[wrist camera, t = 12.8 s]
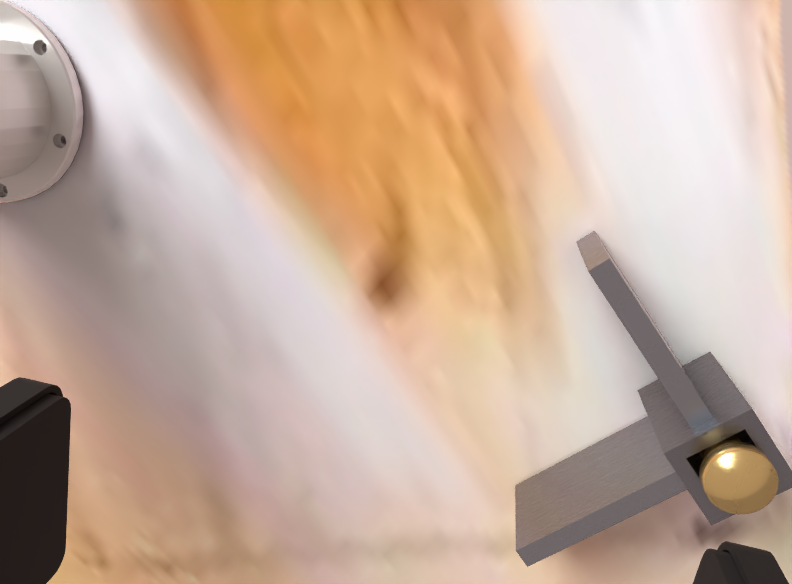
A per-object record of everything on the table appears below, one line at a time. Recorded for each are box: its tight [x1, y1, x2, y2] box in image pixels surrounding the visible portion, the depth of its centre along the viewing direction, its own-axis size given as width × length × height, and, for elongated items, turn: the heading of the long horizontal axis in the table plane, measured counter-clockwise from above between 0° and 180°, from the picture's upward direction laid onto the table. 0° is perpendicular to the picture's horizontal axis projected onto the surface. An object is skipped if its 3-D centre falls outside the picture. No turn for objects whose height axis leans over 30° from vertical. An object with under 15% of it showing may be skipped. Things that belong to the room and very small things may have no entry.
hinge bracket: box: [515, 231, 792, 567], centre depth 41 cm, size 15×15×8 cm
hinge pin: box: [699, 433, 779, 514], centre depth 40 cm, size 3×3×10 cm
